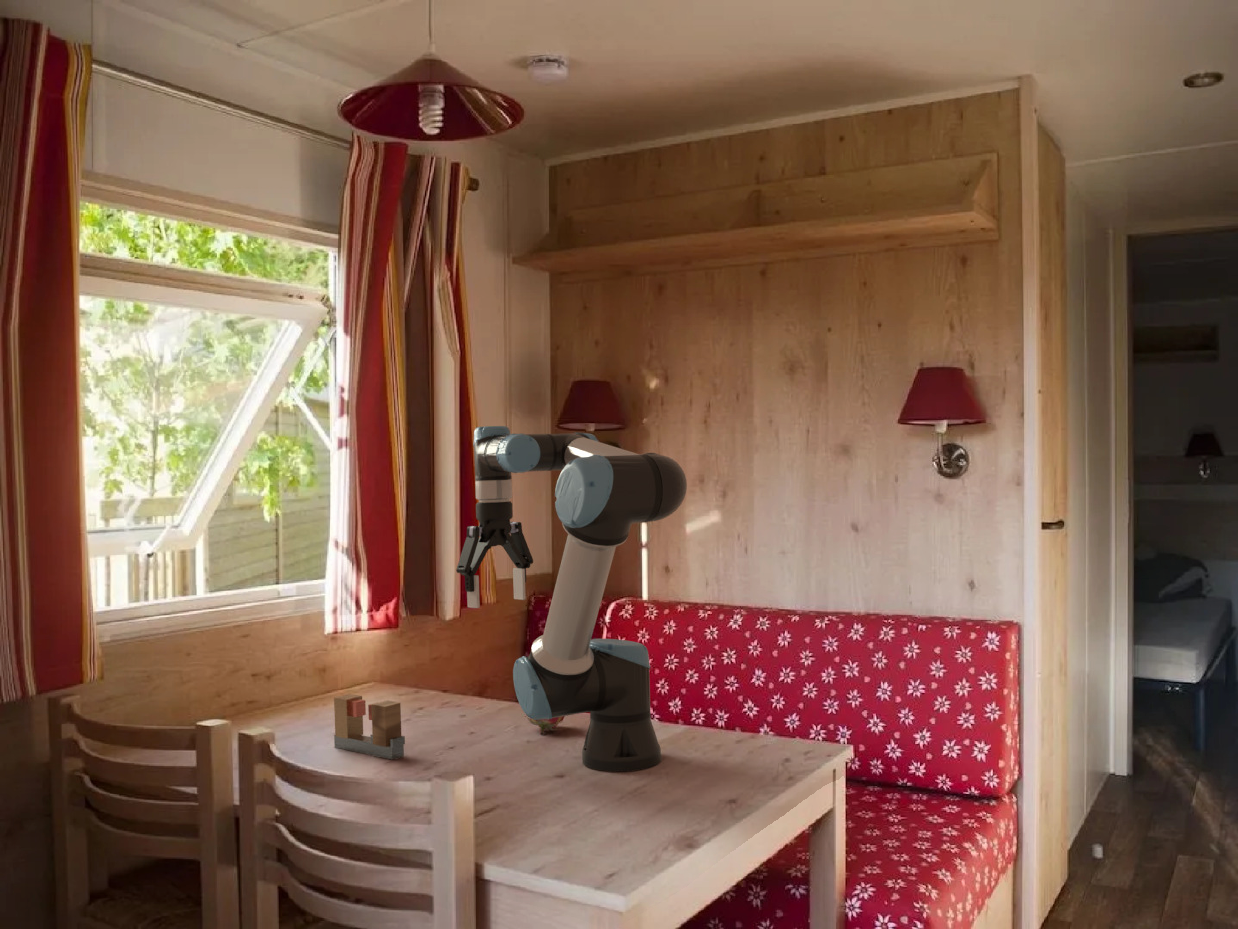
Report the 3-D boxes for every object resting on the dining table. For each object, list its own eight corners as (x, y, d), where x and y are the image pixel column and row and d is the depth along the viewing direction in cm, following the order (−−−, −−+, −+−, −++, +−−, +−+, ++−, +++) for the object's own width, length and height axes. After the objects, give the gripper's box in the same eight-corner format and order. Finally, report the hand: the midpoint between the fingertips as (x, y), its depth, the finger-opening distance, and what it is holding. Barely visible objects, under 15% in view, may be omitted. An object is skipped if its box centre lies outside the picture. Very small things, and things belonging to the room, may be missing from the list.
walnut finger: (401, 742, 221) (400, 702, 221) (386, 747, 218) (384, 706, 218) (381, 738, 225) (380, 699, 225) (366, 743, 222) (365, 703, 222)
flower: (562, 730, 230) (569, 694, 235) (519, 722, 230) (527, 687, 235) (561, 746, 238) (567, 711, 243) (519, 738, 238) (526, 704, 243)
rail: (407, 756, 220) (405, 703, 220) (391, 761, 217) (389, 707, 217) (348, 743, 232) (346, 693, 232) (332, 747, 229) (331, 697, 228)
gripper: (521, 497, 241) (524, 595, 241) (436, 504, 221) (439, 610, 221) (547, 497, 236) (550, 597, 236) (462, 504, 217) (466, 612, 217)
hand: (497, 603), depth 229 cm, fingers open, 13 cm apart
